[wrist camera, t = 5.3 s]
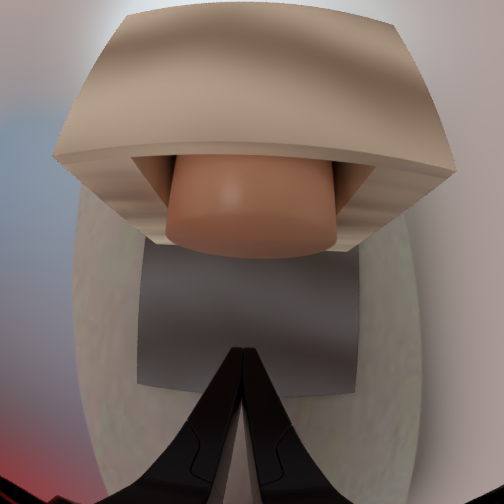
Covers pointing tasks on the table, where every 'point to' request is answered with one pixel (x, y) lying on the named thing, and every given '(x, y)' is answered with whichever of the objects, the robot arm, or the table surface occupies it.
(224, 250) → the knob
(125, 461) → the table surface
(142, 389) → the table surface
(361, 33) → the knob mount
